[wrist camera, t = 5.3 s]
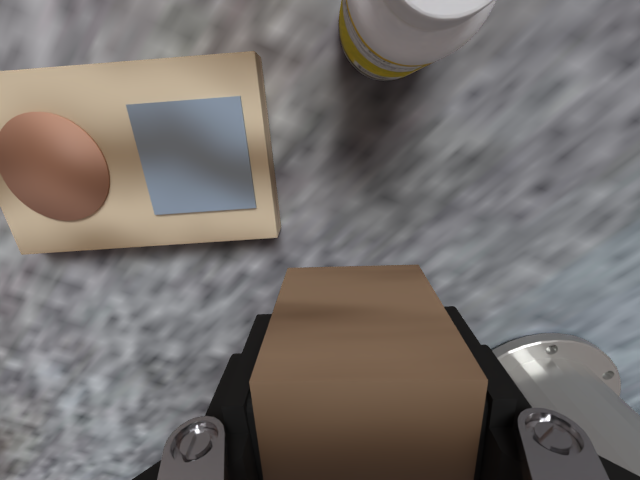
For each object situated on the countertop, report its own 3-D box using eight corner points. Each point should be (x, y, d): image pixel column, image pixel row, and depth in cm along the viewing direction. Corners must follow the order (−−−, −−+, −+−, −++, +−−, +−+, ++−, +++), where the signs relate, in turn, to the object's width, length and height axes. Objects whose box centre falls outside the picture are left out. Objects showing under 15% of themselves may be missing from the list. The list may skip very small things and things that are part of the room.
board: (281, 226, 22) (277, 238, 20) (46, 242, 22) (18, 255, 20) (260, 57, 18) (253, 50, 16) (-19, 79, 19) (-61, 75, 16)
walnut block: (412, 371, 14) (464, 537, 8) (296, 372, 14) (271, 533, 9) (418, 264, 12) (488, 380, 7) (287, 268, 13) (249, 381, 7)
